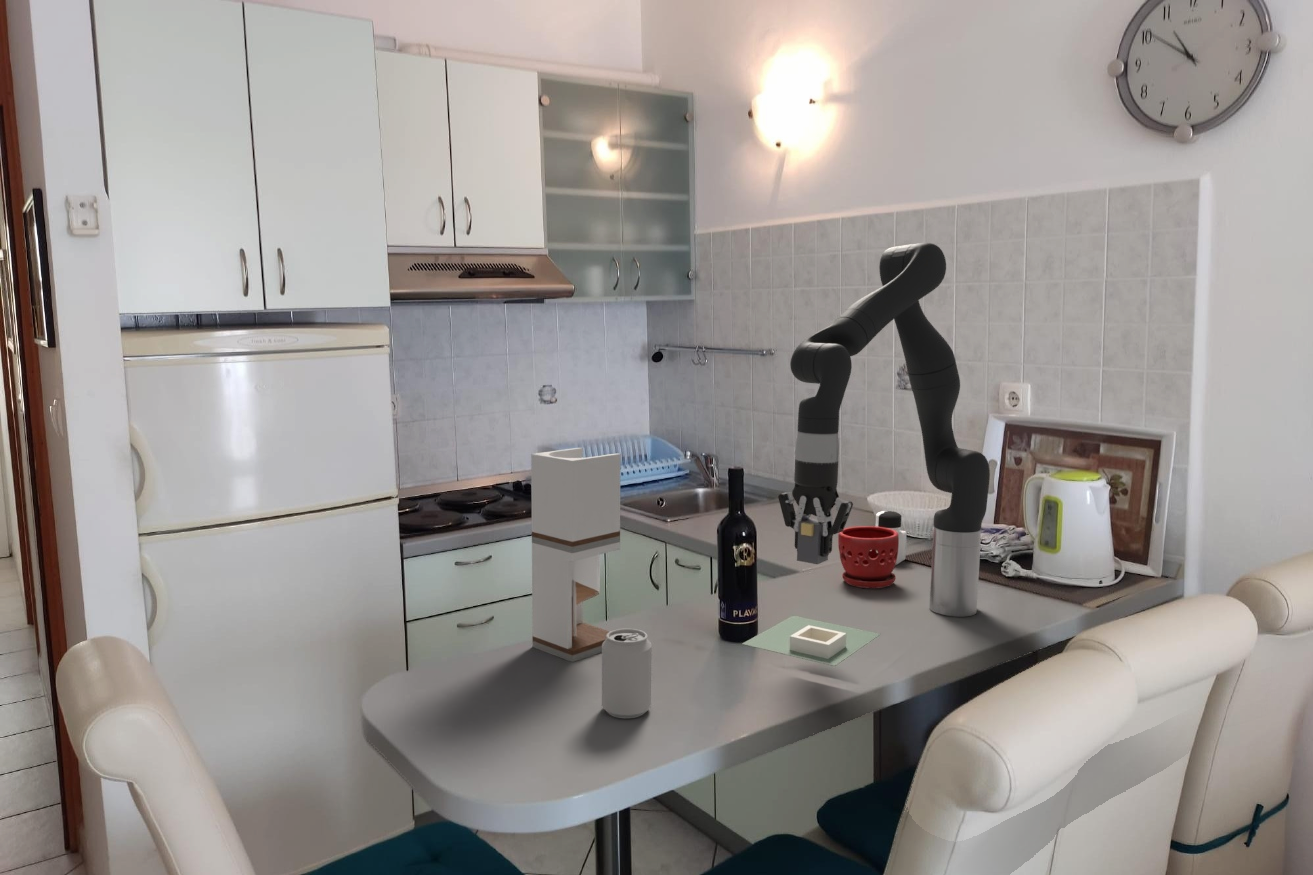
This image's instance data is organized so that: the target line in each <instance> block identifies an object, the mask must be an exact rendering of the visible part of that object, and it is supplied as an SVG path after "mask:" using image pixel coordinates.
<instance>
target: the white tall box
mask: <svg viewBox="0 0 1313 875" xmlns="http://www.w3.org/2000/svg"><path fill="white" fill-rule="evenodd" d="M583 452H584V448H583V447H574V448H566V449H558V450H552V451H544V452H537V453H536V452H535V453H531V454H530V456H531V457H530V459H531V461H530V462H531V463H530V464H531V465H530V466H531V468H530V470H531V476H530V477H531V478H530V479H531V482H530V483H531V490H530V492H531V598H532V599H531V605H532V606H531V610H532V612H531V614H532V616H531V617H532V618H531V619H532V622H531V623H532V624H531V625H532V628H531V629H532V641H531V642H532V643H531V644H532V648H533V649H534V648H535V649H537V650H540V651H541V652H545V653H547V654H550V655H553V656H554V657H555V656H556V657H558V658H561V659H563V660H566V661H569V662H571V663H574V662H577V661H579V660H583V659H586V658H589V657H590V656H594V655H597V654H600V653H602V644H603V642H604V641H605V640H606V639H607V638H606V635H607V633H609V632H610V631H609V630H606V629H603V628H601V627H597V626H595V625H591V624H588V623H585V622H584V619H583V618H584V616H583V614H584V612H583V611H584V610H583V606H584V605H583V603H584V602H585V601H588V600H590V599H592V598H595V597H596V596H599V595H600V560H601V559H600V558H601V557H600V555H603V554H608V553H611V552H616V551H620V550H621V468H622V467H621V466H622V465H621V464H622V462H621V458H622V456H621V453H617V452H616V453H609V454H603V455H596V456H588V457H583V456H584V455H583V454H584V453H583Z"/></svg>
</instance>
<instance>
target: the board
mask: <svg viewBox="0 0 1313 875" xmlns="http://www.w3.org/2000/svg"><path fill="white" fill-rule="evenodd" d="M880 635H881V633H879V632H878V633H877V632H875V631H874V632H873V631H868V630H865V629H858V628H855V627H849V626H844V625H841V624H836V623H831V622H825V621H820V620H817V619H811V618H808V617H807V618H806V617H803V616H802V617H801V616H797V615H791V616H790V617H787V618H786V619H784V620H782V621H780V622H779V623H777V624H775V625H773V626H771V627H770V628H768V629H766V630H764V631H763V632H760V633H759V634H757V635H755V636H754V637H751V638H749V639H748V640H746V641H744V642H743V643H741V645H743V646H744V645H745V646H748V647H753V648H757V649H761V650H766V651H770V652H773V653H778V654H781V655H787V656H790V657H795V658H798V659H799V658H800V659H803V660H808V661H812V662H817V663H820V664H824V665H828V666H829V665H830V666H832V667H833V666H834V667H836V666H837V665H839V664H840V663H842V662H843V661H844V660H845V659H847V658H849V657H850V656H851V655H853V654H855V653H856V652H857V651H859V650H860V649H862V648H864V647H865V646H866V645H868V643H870V642H871V641H873V640H874V639H876V638H877V637H879V636H880Z"/></svg>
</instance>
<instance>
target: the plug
mask: <svg viewBox="0 0 1313 875" xmlns="http://www.w3.org/2000/svg"><path fill="white" fill-rule="evenodd" d="M821 536H823V535H822V533H821V524H819V523H818V519H817V518H811V517H810V518H809V519H805V520H803V521H799V522H798V546H797V549H796V561H798V562H803V563H808V564H813V565H819V564H822V563H824V562H826V561H829V555H828V556H826V557H822V556H820V545H821Z"/></svg>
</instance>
